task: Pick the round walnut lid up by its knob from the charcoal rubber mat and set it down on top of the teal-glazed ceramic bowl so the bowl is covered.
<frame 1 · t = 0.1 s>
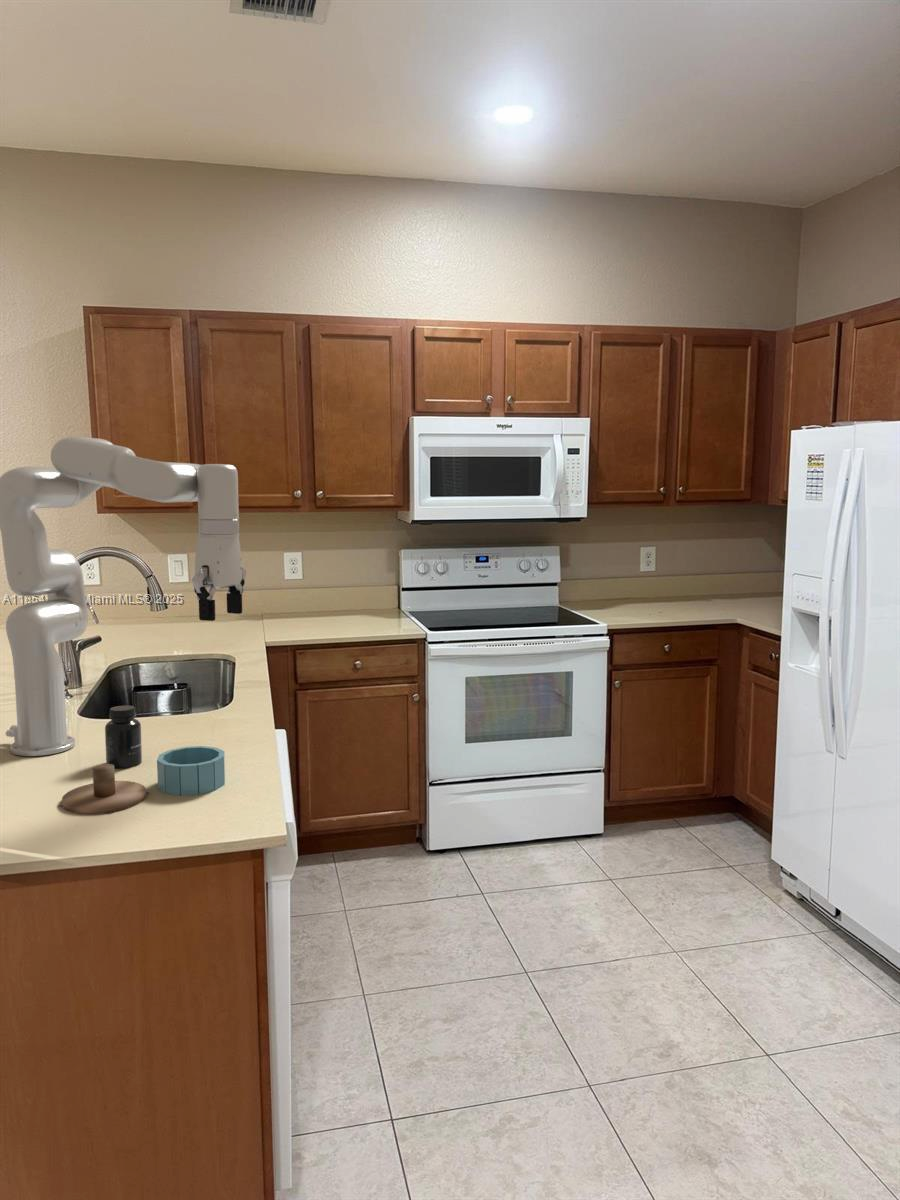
hand: (221, 616, 167), 31 cm above the worktop, fingers open, 9 cm apart
supplement bottle: (124, 766, 174), on the worktop
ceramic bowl: (192, 786, 162), on the worktop
rubber mat: (105, 801, 154), on the worktop
walnut lid: (104, 799, 154), resting on rubber mat
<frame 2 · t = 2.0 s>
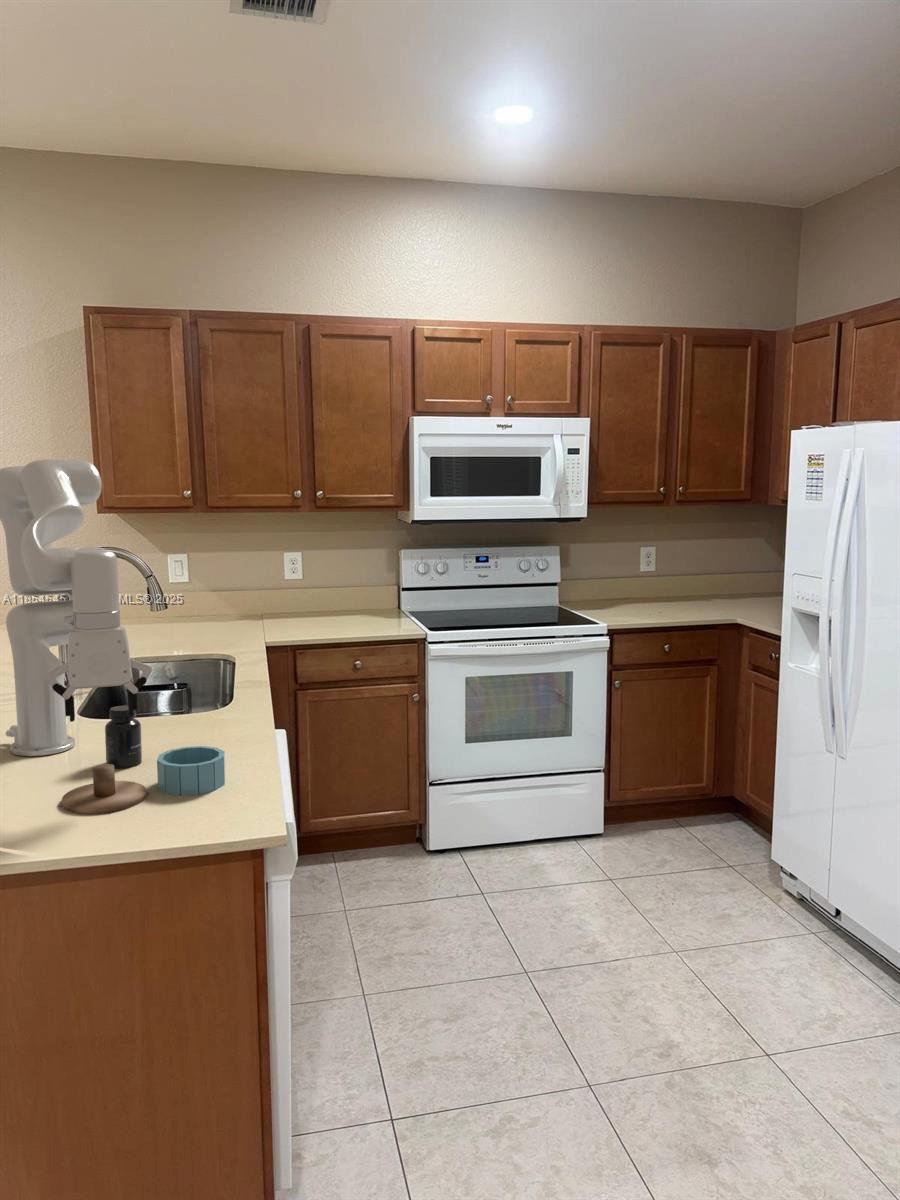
hand: (102, 717, 152), 16 cm above the worktop, fingers open, 9 cm apart
nothing on the worktop moved.
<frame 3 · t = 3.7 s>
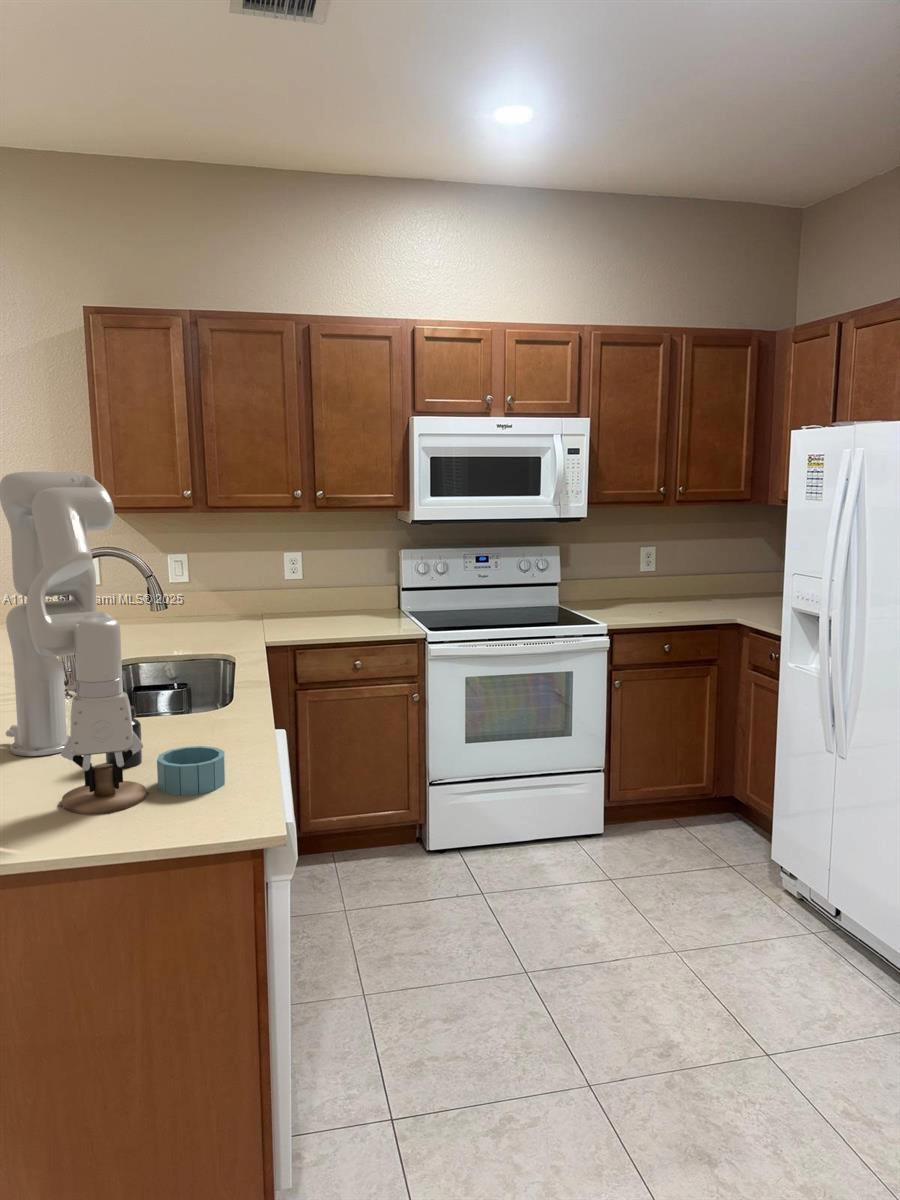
hand: (104, 787, 154), 3 cm above the worktop, fingers closed on walnut lid, 3 cm apart
walnut lid: (104, 799, 154), resting on rubber mat, touching gripper
everything else where it was.
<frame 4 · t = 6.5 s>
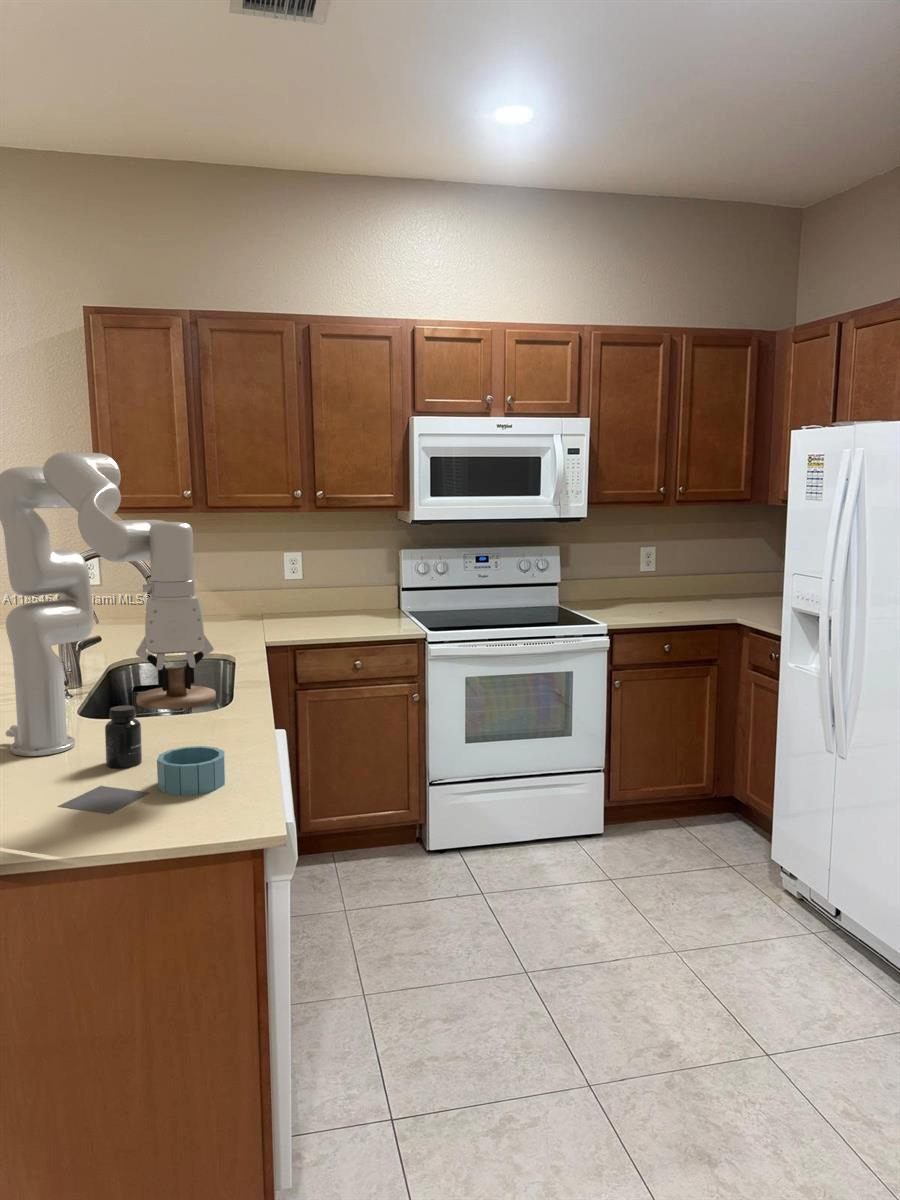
hand: (176, 687, 159), 19 cm above the worktop, fingers closed on walnut lid, 3 cm apart
walnut lid: (176, 699, 159), point 17 cm above the worktop, touching gripper
everything else where it was.
when the fingers open (10 cm above the worktop, at t = 9.2 s): walnut lid drops 1 cm, resting on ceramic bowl.
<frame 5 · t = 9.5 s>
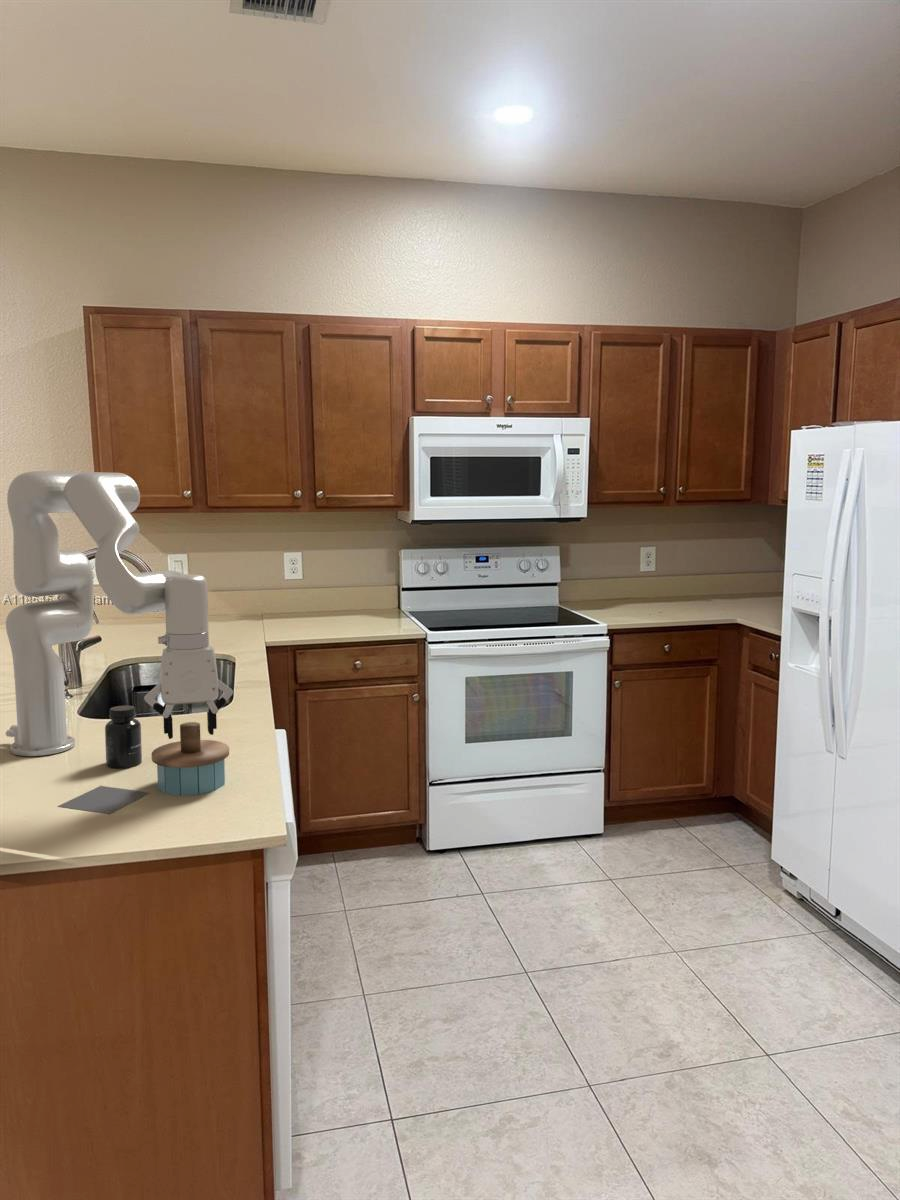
hand: (190, 734, 161), 10 cm above the worktop, fingers open, 6 cm apart
walnut lid: (190, 755, 162), point 6 cm above the worktop, touching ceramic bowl
everything else where it was.
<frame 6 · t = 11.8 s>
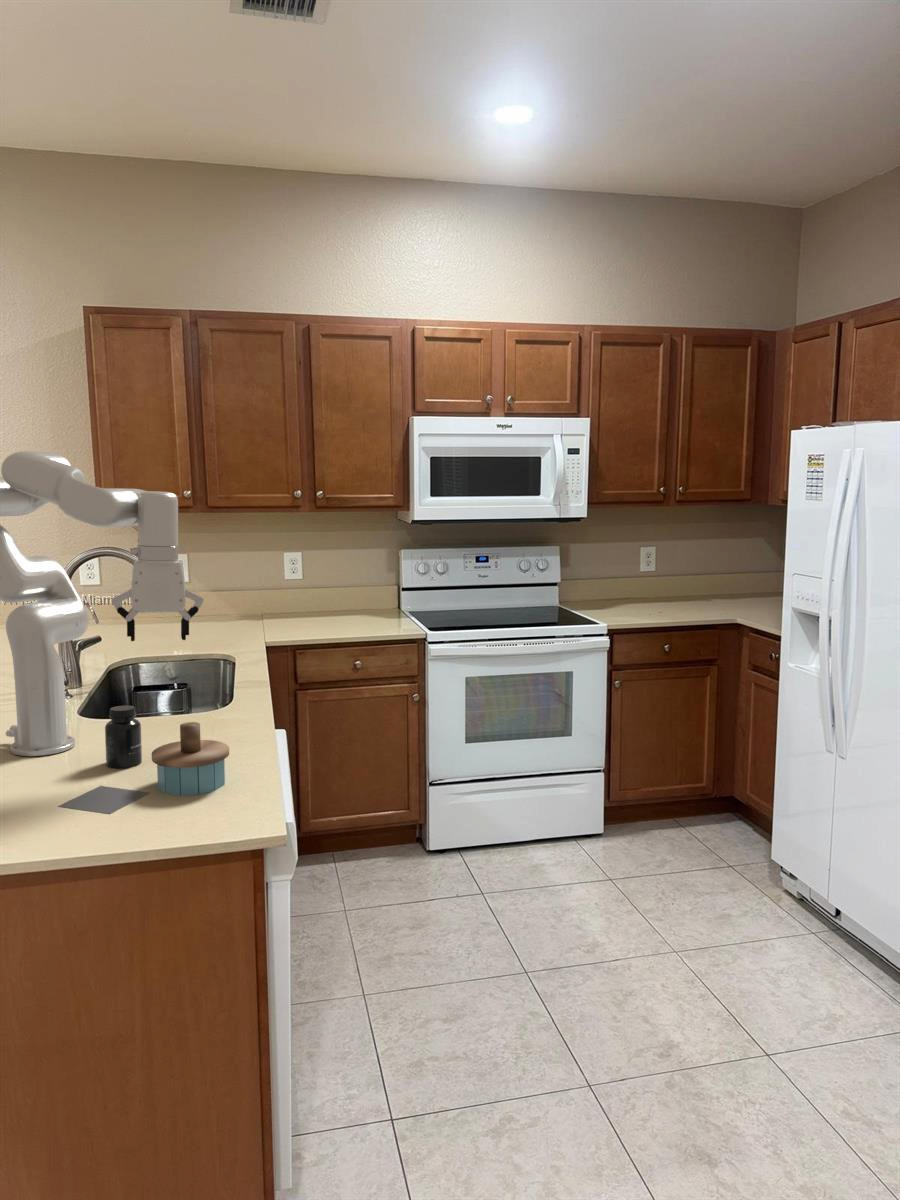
hand: (158, 639, 172), 26 cm above the worktop, fingers open, 9 cm apart
nothing on the worktop moved.
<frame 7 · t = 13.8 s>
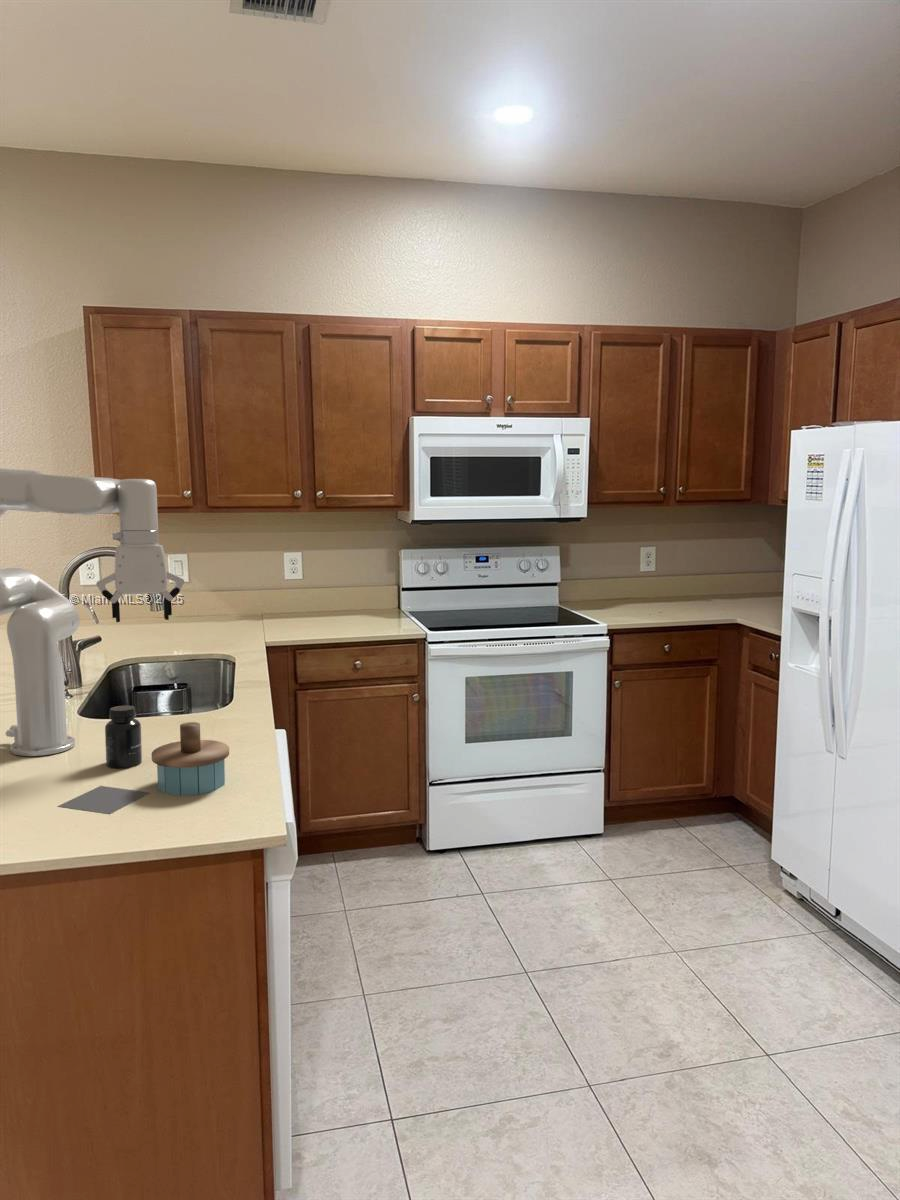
hand: (142, 620, 180), 28 cm above the worktop, fingers open, 9 cm apart
nothing on the worktop moved.
at the end: walnut lid 0.1 cm off-centre on the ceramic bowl, point 6.0 cm above the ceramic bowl's base; walnut lid tilted 0°; the gripper is holding nothing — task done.
